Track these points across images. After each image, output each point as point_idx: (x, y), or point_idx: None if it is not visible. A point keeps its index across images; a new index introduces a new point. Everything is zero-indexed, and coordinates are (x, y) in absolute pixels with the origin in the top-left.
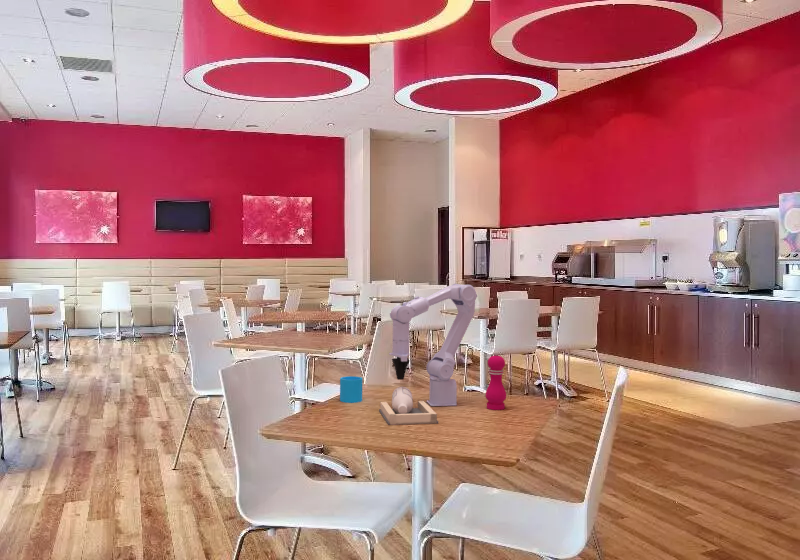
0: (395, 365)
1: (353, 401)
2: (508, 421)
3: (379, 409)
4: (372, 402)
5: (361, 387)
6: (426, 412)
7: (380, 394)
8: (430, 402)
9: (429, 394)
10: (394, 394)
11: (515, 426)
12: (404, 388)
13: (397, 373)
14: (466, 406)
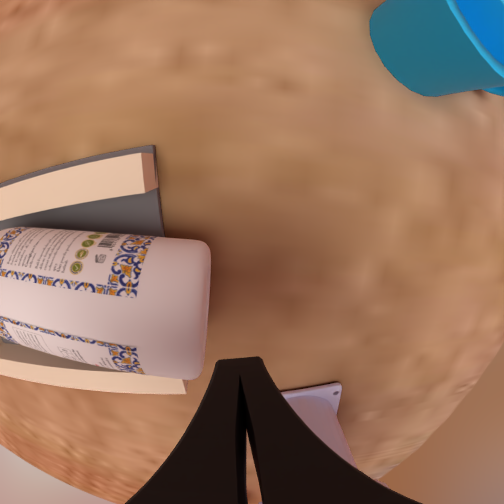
0: (137, 497)
1: (374, 38)
2: (91, 476)
3: (140, 148)
4: (377, 131)
5: (448, 69)
6: (26, 356)
7: (497, 205)
8: (286, 400)
9: (311, 419)
10: (40, 262)
11: (57, 467)
12: (120, 356)
13: (199, 409)
14: (246, 464)
